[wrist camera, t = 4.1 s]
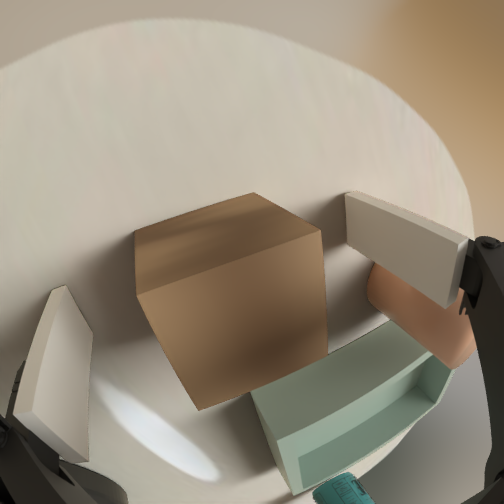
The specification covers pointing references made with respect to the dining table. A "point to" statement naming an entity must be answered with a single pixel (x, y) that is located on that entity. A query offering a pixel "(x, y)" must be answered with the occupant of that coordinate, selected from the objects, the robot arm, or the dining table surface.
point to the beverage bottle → (341, 491)
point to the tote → (348, 404)
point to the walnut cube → (233, 295)
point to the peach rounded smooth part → (423, 317)
